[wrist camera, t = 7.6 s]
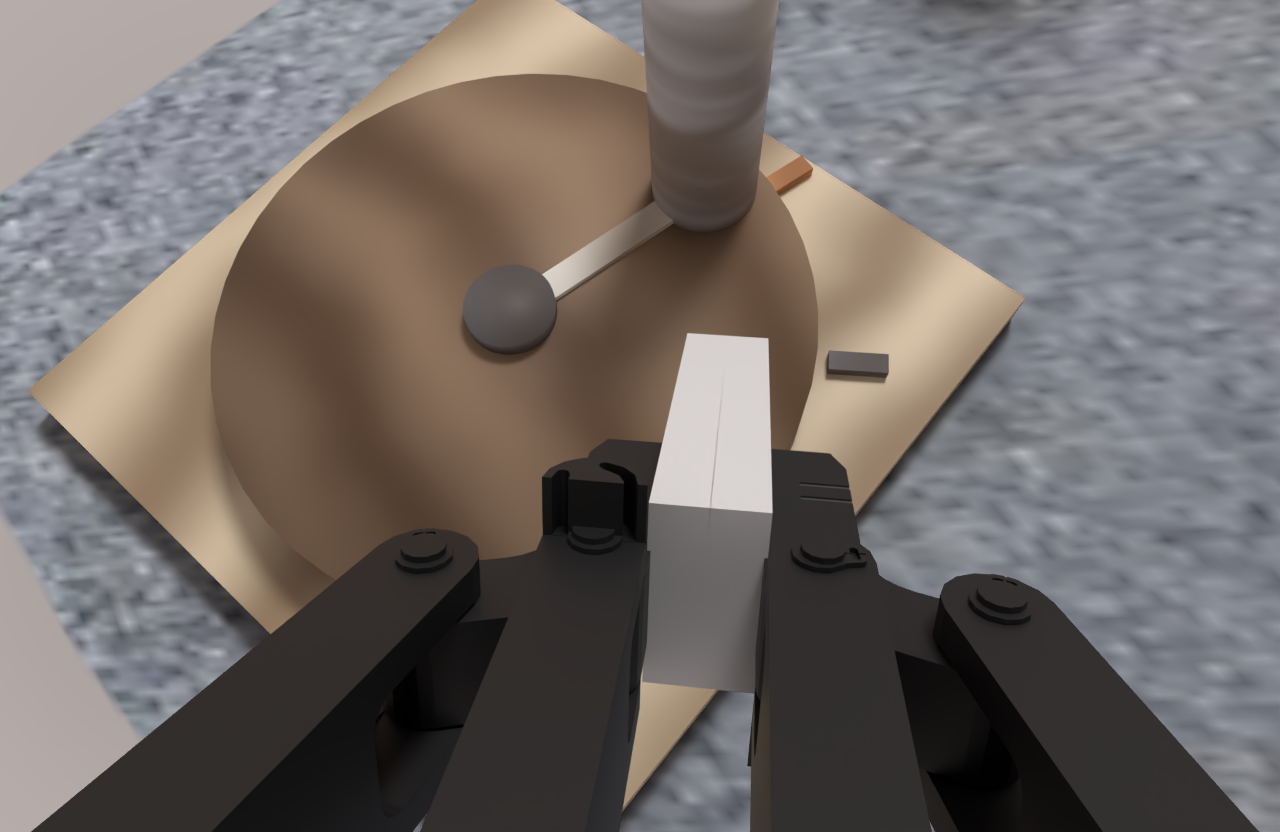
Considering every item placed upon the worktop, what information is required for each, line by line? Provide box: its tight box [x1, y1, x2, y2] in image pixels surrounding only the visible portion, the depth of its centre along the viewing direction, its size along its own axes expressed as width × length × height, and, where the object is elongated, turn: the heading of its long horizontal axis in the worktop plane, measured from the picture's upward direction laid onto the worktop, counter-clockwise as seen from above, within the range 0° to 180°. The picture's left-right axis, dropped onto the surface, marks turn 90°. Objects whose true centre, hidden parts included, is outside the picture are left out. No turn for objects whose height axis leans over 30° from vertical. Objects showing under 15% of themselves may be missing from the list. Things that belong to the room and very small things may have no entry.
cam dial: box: [210, 0, 818, 580], centre depth 27 cm, size 20×20×12 cm
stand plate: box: [28, 0, 1025, 812], centre depth 33 cm, size 25×25×2 cm
